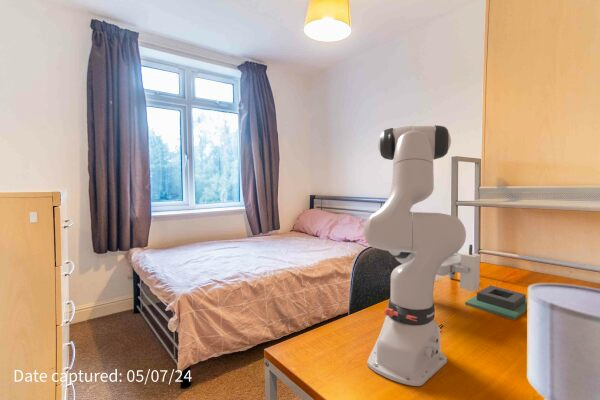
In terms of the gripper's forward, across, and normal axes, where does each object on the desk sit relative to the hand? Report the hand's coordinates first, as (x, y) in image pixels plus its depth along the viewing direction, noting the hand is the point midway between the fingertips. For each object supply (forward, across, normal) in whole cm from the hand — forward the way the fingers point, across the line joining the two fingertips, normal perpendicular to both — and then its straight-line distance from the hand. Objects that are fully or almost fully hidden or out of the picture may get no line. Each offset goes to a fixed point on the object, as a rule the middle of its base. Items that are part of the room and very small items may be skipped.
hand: (472, 269), depth 104 cm
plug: (-1, 0, +7) cm, 7 cm away
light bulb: (-23, +32, +16) cm, 42 cm away
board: (+2, +19, +16) cm, 25 cm away
